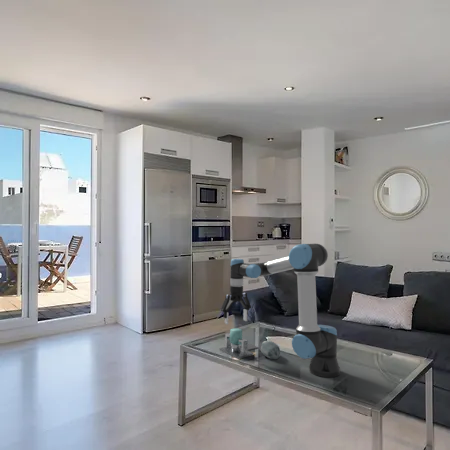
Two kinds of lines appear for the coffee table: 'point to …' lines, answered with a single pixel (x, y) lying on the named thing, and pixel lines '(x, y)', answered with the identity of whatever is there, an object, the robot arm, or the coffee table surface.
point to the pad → (251, 347)
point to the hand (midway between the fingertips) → (235, 322)
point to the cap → (235, 336)
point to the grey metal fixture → (236, 348)
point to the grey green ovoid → (270, 349)
